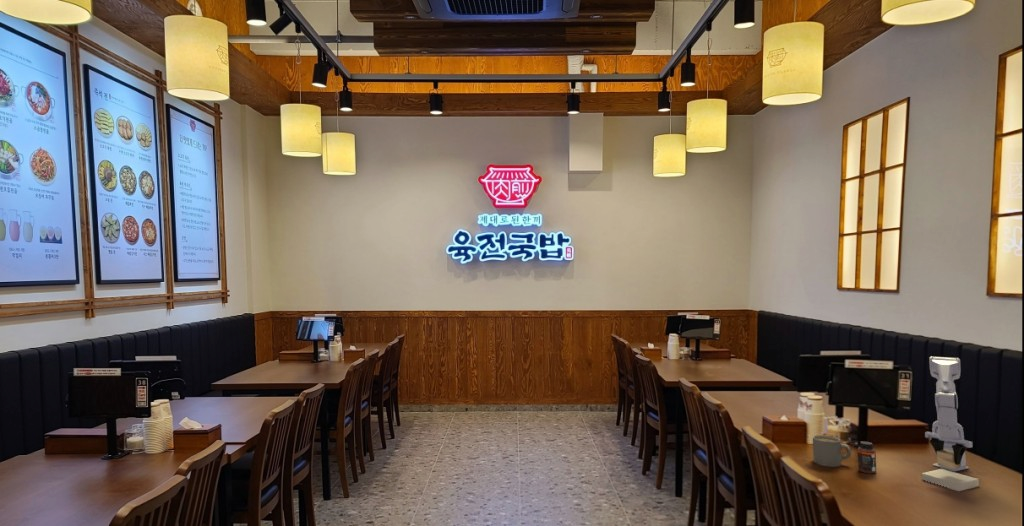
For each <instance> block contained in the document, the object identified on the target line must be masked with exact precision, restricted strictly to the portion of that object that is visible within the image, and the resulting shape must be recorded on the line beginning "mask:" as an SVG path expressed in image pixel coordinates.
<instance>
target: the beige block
mask: <svg viewBox="0 0 1024 526" xmlns="http://www.w3.org/2000/svg"><path fill="white" fill-rule="evenodd" d="M921 480H922V481H924V480H925V481H924V482H927V481H928V483H930V482H931V483H930V484H934V483H935V485H937V484H938V485H937V486H940V485H941V487H943V486H944V487H943V488H946V487H947V489H949V490H954V491H956V492H961V491H966V490H969V489H973V488H977V487H979V486H980V481H979V478H976V477H973V476H969V475H965V474H962V473H958V472H956V471H951V470H947V469H944V468H938V469H935V470H934V469H933V470H930V471H926V472H922V473H921Z"/></svg>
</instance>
